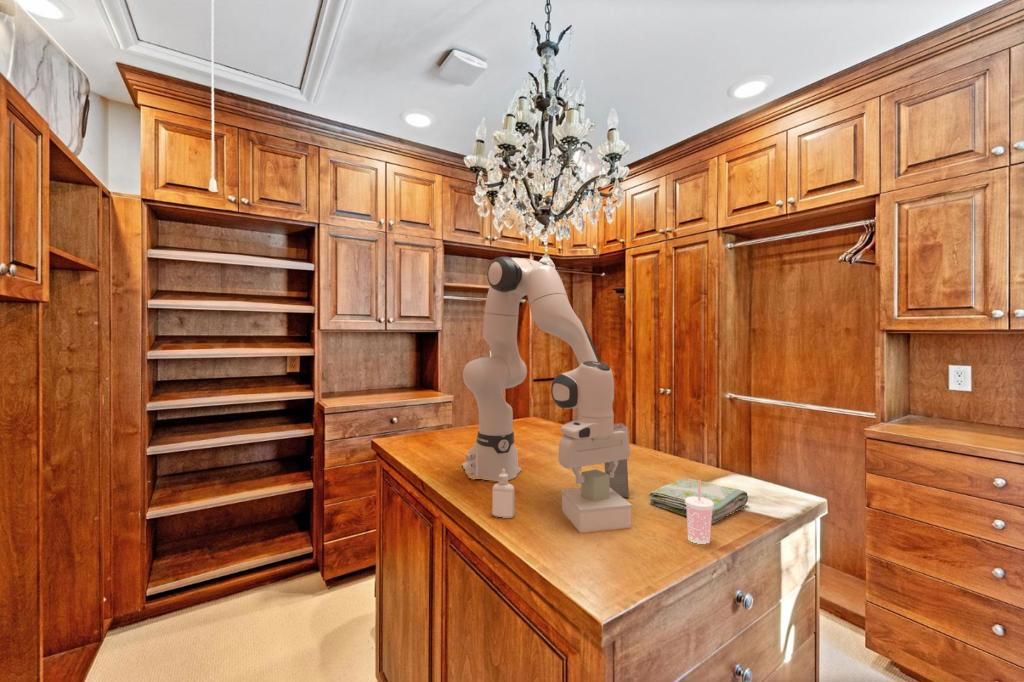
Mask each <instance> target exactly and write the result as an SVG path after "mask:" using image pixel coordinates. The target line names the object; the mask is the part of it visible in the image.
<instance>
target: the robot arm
mask: <svg viewBox="0 0 1024 682" xmlns="http://www.w3.org/2000/svg"><path fill="white" fill-rule="evenodd" d="M560 276H561V275H560V274H559V272H558V270H556V268H555V267H553V266H551V265H549V264H547V263H545V262H542V261H540V260H533V259H531V258H525V257H522V258H521V257H510V256H499V257H498V256H497V257H496V258H494V259H492V261H491V262H490V263H489V266H488V269H487V282H488V283H489V288H488V292H487V295H486V301H485V306H484V314H483V325H482V337H483V339H484V340H485V342H486V343H487V344H488V346H489V348H490V356H484V357H478V358H475V359H473V360H471V361H469V362H467V363H466V364H465V365H464V368H463V371H462V378H463V379H462V380H463V383H464V385H465V386H466V388H467V389H469V390H470V391H471V393H472V394H473V395H474V396H473V397H474V399H475V400H476V404H477V408H478V409H477V410H478V431H477V435H476V443H475V444H474V445H473V446H472V447H471V448H470V449H469V451H468V453H466V455H465V458H466V461H464V462H463V463H461V466H462V465H463V467H464V469H465V470H466V472H467V474H468V476H469V477H472V478H481V479H486V480H494V481H493V482H499V474H501V473H502V469H505V473H506V474H508V481H510V480H514V479H515V478H517V476H518V475H519V474H520V473H521V472H522V467H520V466H519V459H518V457H519V456H518V455H519V454H518V448H517V446H516V445H515V444H514V443H515V432H514V431H513V426H514V425H513V423H514V421H513V419H514V416H513V415H514V411H513V407H512V405H510V404H509V403H508V402H507V401H506V399H505V395H504V390H506V389H512V388H515V387H517V386H518V385H520V384H522V383H523V382H524V381H525V380H526V378H527V375H528V369H527V364H526V363H525V361H524V360H523V358H521V355H520V353H519V345H518V326H519V325H518V324H519V313H520V311H519V310H520V302H521V301H522V299H523V298H524V297H525V296H526V297H527V300H528V305H529V308H530V313H531V317H532V320H533V321H534V323H535V325H536V327H538V328H539V329H540V330H541V331H543V332H544V333H546V334H549V335H551V336H554V337H556V338H558V339H560V340H562V341H564V342H566V343H567V344H568V345H569V346H570V347H571V349H572V351H573V353H574V355H575V358H576V360H577V363H578V367H576V368H574V369H572V370H569V371H567V372H563V373H559V374H557V375H556V376H555V377H554V379H553V380H552V383H551V385H550V386H551V388H550V393H551V398H552V401H553V402H554V403H555V405H556V406H557V407H558V408H561V409H568V410H570V409H577V412H578V415H577V417H576V418H574V419H572V420H571V421H569V422H567V423H565V424H563V425H561V427H560V433H561V434H562V436H561V437H560V440H559V444H558V463H559V464H560V465H561V466H562V467H563V468H565V469H569V470H570V469H571V471H572V473H573V474H574V476H575V483H576V484H577V485H581V484H583V483H584V476H582V475H581V472H582V467H587V466H592V465H593V466H594V465H599V464H600V465H601V464H604V463H606V462H609V463H610V465H609V468H608V470H606V471H605V470H604V473H606V474H609V475H610V478H614V471H615V470H616V468H617V466H618V460H624V459H627V460H628V459H629V457H630V456H631V447H630V439H629V429H628V427H627V425H625V424H624V423H623V422H621V423H615V422H614V420H615V414H614V409H613V403H614V399H615V382H614V374H613V370H612V368H611V366H609V365H608V364H607V363H604V362H602V361H601V359H600V356H599V355H598V352H597V350H596V348H595V345H594V343H593V341H592V338H591V336H590V333H589V331H588V329H587V327H586V326H585V324H584V323H583V321H582V320H581V319H580V318H579V317H578V316H577V314H576V313H575V311H574V309H573V308H572V305H571V303H570V301H569V298H568V297H569V296H568V294H567V291H566V288H565V286H564V283H563V281H562V278H561V277H560ZM464 469H463V470H464ZM520 471H521V472H520ZM517 474H518V475H517ZM468 476H467V477H468Z"/></svg>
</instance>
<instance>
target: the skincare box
mask: <svg viewBox="0 0 1024 682" xmlns="http://www.w3.org/2000/svg"><path fill="white" fill-rule="evenodd" d="M603 464H604V472H605V471H606V470H608V468H609V465H610V463H609V462H606V463H603ZM628 474H629V472H628V459H624V460H618V466H617V468H616V470H615V471H614V478H610V479H609V487H610V488H611V489H613V490H614V491H615V492H616V493H618V494H619V495H620V496H621V497H623V498H629V497H630V494H629V493H630V492H629V476H628Z"/></svg>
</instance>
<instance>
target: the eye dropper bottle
mask: <svg viewBox="0 0 1024 682" xmlns="http://www.w3.org/2000/svg"><path fill="white" fill-rule="evenodd" d="M491 493H492V498H491V499H492V501H491V502H492V503H491V508H492V509H491V511H492V512H491V514H492V516H493V515H494V516H498V517H503V518H502V519H512V518H514V516H515V500H516V499H515V495H516V494H515V486H514V485H513V484H511V483H510V482H509V480H508V474H506V473H505V469H502V473H501V474H499V481H498V482H497V483H495V484H494V485H493V486H492V491H491ZM494 516H493V517H494Z"/></svg>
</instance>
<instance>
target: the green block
mask: <svg viewBox="0 0 1024 682" xmlns="http://www.w3.org/2000/svg"><path fill="white" fill-rule="evenodd" d="M580 474H581V475H582V476H584V483H583V484H580V488H581V496H583V497H585V498H587V499H589V500H591V501H593V502H596V501H601V500H605V499H609V479H610V475H609V474H606V473H605V471H601V470H599V469H597V468H595V469H590V470H586V471H580Z"/></svg>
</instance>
